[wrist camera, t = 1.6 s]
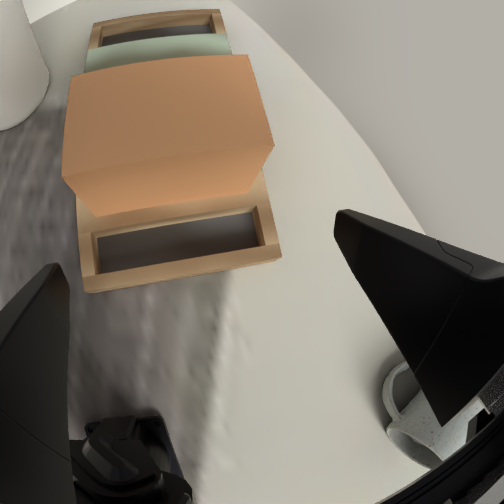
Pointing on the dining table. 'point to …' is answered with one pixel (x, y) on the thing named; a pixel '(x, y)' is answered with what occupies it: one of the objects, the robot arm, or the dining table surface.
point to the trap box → (177, 214)
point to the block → (164, 132)
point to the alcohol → (19, 66)
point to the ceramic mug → (424, 426)
